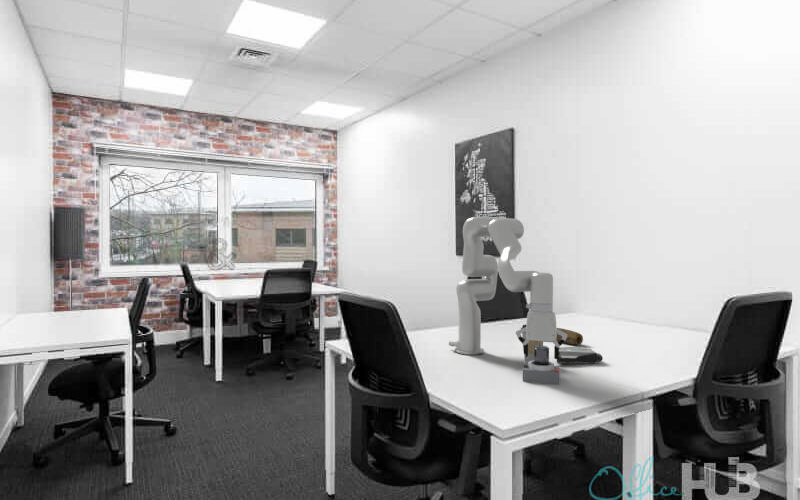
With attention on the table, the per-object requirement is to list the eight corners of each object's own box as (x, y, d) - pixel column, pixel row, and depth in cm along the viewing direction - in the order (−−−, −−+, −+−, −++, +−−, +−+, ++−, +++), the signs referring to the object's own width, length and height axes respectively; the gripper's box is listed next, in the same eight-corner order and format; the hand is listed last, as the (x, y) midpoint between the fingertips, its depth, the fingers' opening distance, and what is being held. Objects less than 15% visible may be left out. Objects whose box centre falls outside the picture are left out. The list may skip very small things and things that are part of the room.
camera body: (522, 381, 163) (522, 364, 163) (523, 374, 172) (523, 358, 171) (559, 384, 159) (559, 367, 159) (558, 377, 168) (558, 361, 168)
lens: (533, 368, 164) (533, 347, 164) (534, 365, 169) (534, 344, 168) (548, 370, 162) (548, 348, 162) (549, 366, 167) (549, 345, 167)
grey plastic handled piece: (606, 364, 187) (606, 351, 187) (560, 367, 182) (560, 353, 182) (581, 355, 203) (581, 343, 203) (538, 357, 198) (538, 345, 198)
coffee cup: (532, 368, 180) (532, 328, 180) (515, 362, 189) (515, 325, 188) (550, 365, 185) (550, 326, 184) (533, 360, 193) (533, 323, 193)
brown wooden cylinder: (548, 341, 230) (548, 327, 230) (557, 340, 234) (557, 326, 234) (576, 347, 218) (576, 332, 218) (584, 345, 222) (584, 331, 222)
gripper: (515, 308, 164) (514, 357, 164) (568, 310, 159) (567, 361, 159) (516, 305, 171) (516, 352, 172) (567, 307, 166) (566, 356, 166)
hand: (541, 357), depth 165 cm, fingers open, 9 cm apart
